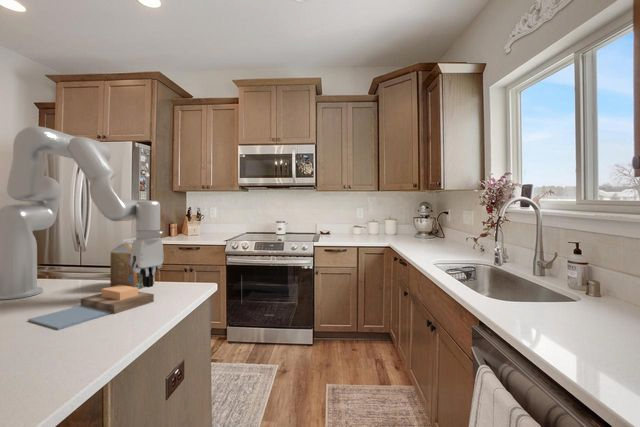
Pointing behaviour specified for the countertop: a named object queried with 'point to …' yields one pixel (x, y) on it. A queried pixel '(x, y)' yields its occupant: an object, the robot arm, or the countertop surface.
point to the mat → (69, 317)
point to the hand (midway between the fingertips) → (148, 286)
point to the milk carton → (124, 267)
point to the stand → (117, 302)
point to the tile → (119, 292)
